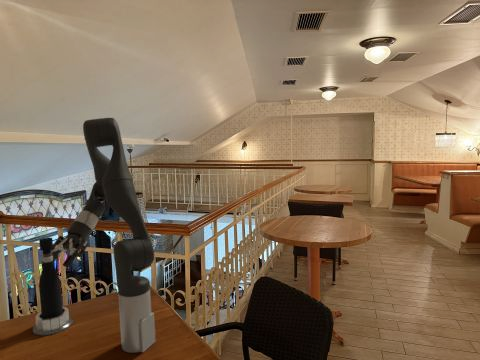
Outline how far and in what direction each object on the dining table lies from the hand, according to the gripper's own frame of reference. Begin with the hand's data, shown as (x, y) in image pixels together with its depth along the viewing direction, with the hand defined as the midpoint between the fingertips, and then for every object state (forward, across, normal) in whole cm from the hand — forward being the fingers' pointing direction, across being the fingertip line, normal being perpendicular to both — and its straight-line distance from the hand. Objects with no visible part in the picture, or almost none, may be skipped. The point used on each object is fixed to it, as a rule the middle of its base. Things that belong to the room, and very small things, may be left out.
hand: (57, 264), depth 115 cm
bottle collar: (+17, 0, +12) cm, 21 cm away
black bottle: (+16, 0, +12) cm, 20 cm away
